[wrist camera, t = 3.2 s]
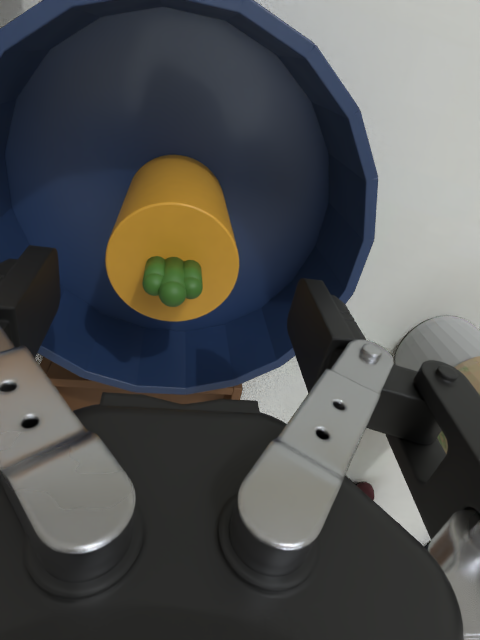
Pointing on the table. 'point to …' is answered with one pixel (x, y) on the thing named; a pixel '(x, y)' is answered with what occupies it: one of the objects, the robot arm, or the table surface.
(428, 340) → the coffee cup
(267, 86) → the pot
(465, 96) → the table surface
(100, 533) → the robot arm
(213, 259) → the pineapple
